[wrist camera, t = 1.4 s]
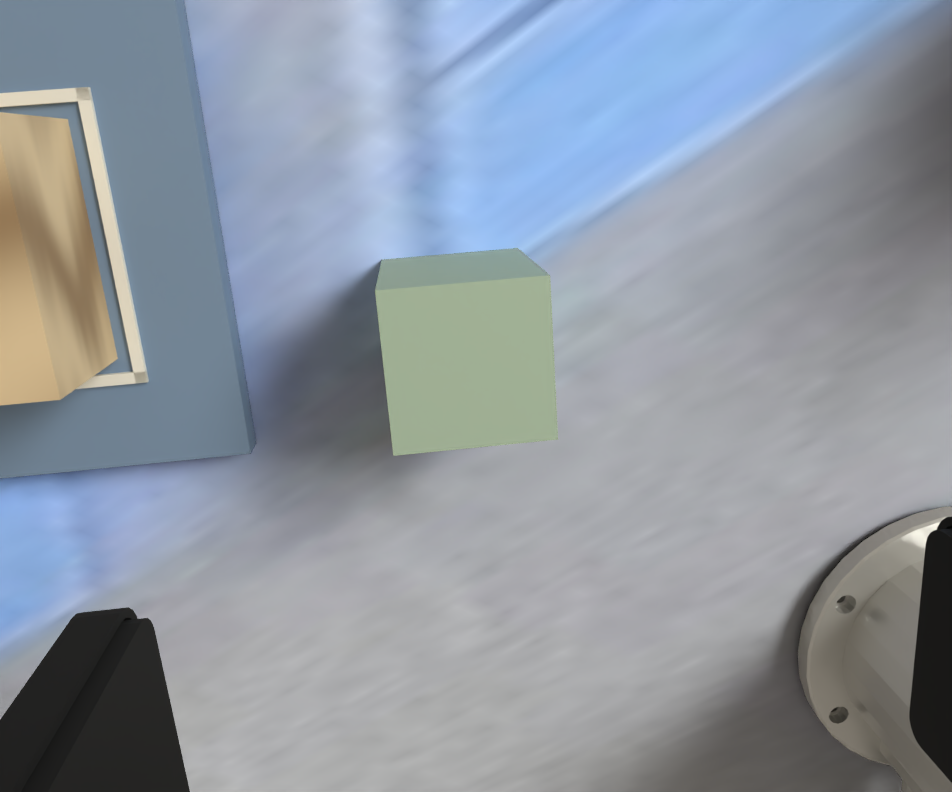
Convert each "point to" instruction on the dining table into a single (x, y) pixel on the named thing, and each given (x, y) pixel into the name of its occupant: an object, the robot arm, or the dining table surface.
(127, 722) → the robot arm
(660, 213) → the dining table surface
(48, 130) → the oak block
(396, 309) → the sage brick
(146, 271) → the board
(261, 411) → the dining table surface
